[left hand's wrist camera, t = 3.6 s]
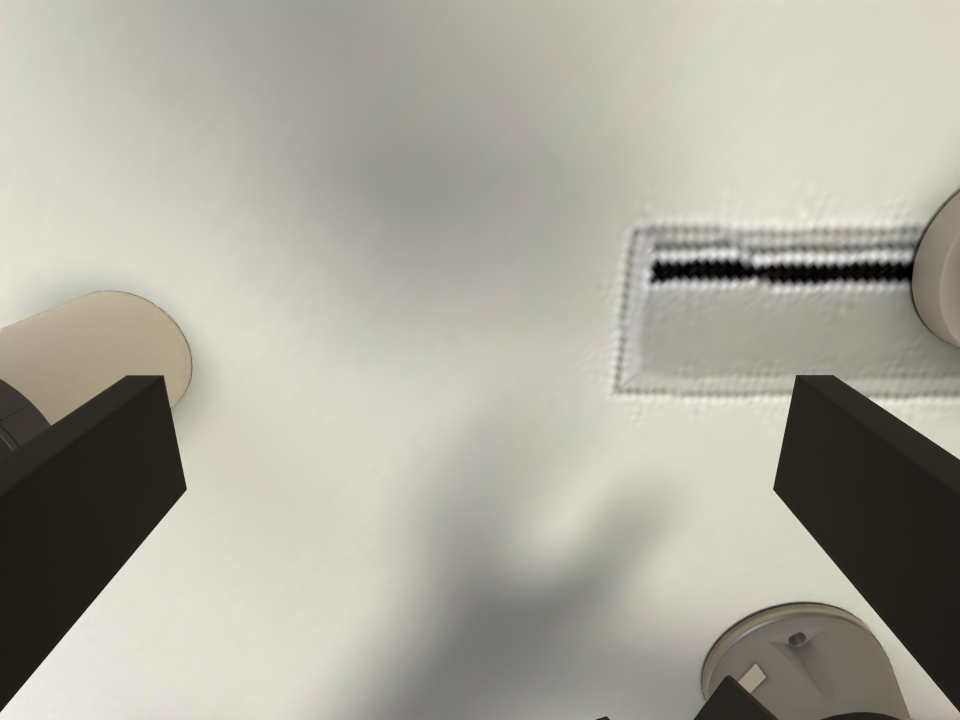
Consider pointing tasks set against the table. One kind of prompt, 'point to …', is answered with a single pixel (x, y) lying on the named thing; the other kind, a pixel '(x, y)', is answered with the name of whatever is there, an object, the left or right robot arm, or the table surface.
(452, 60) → the table surface
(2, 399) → the lid
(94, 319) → the jar
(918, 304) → the bust sculpture
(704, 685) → the right robot arm
